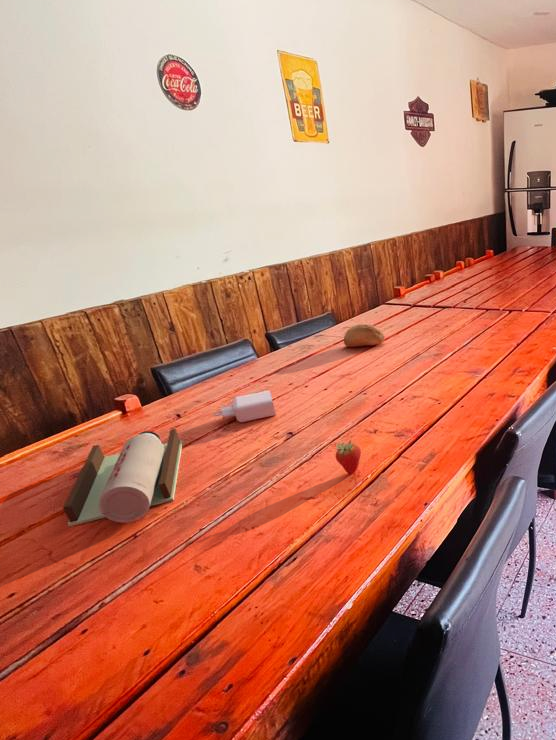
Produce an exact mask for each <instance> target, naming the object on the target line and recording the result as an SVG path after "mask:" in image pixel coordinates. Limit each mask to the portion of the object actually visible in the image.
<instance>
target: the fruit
mask: <svg viewBox="0 0 556 740" xmlns="http://www.w3.org/2000/svg"><path fill="white" fill-rule="evenodd" d="M338 442H339V444H337V442H336V443H335V447H336V448H334V449H335V450H336V452H335V459H336V461H337V463H338V464H339V465H341V467H342V468H343V469H344V471H345V472H346V473H347V474H350V475H351V474H354V473H356V471H358V467H359V465H360V459H361V455H362V450H361V448H360V446H359V445H357V444H355V442H353V443H352V439H349V441H348V442H347V443H346V444H345V443H344V442H343V441H342V440H341V439H339V441H338Z"/></svg>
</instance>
